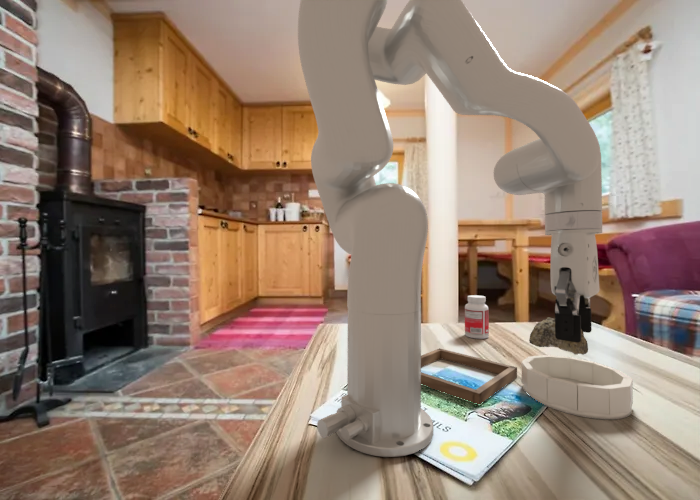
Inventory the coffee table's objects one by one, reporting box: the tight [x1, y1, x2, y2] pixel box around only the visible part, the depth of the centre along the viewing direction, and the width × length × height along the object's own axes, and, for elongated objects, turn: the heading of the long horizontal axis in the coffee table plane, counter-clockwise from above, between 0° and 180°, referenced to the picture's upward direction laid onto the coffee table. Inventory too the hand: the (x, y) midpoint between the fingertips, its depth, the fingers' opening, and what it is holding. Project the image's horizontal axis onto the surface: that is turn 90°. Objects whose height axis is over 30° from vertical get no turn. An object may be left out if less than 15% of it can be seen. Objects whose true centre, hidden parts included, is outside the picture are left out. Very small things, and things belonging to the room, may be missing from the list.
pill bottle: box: [464, 294, 490, 340], centre depth 87 cm, size 6×6×11 cm
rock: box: [529, 317, 589, 355], centre depth 52 cm, size 7×8×4 cm
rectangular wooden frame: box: [421, 348, 518, 405], centre depth 59 cm, size 16×16×2 cm
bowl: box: [521, 354, 634, 421], centre depth 50 cm, size 14×14×4 cm
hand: (574, 334), depth 51 cm, fingers closed on rock, 7 cm apart
